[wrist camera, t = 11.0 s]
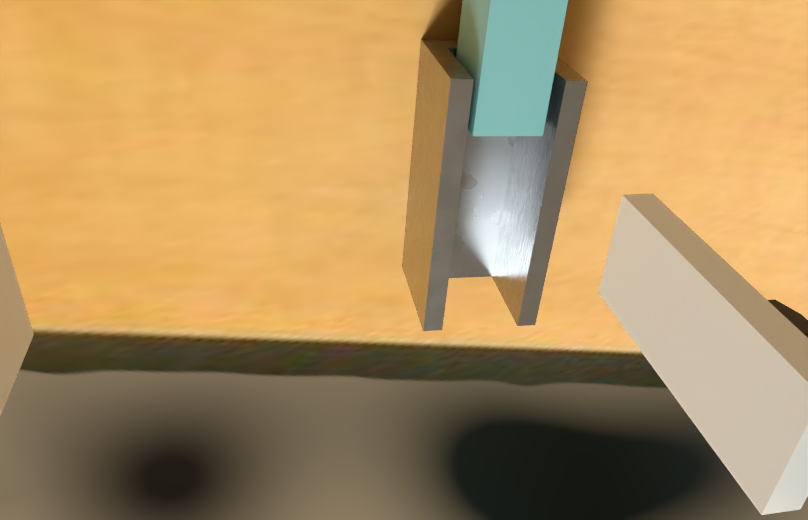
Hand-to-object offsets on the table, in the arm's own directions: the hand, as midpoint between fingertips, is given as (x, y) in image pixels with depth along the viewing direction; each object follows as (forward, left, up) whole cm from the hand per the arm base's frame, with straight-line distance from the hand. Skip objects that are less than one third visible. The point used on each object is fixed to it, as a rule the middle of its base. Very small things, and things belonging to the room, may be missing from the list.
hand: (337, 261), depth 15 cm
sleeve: (+11, -10, -28) cm, 32 cm away
